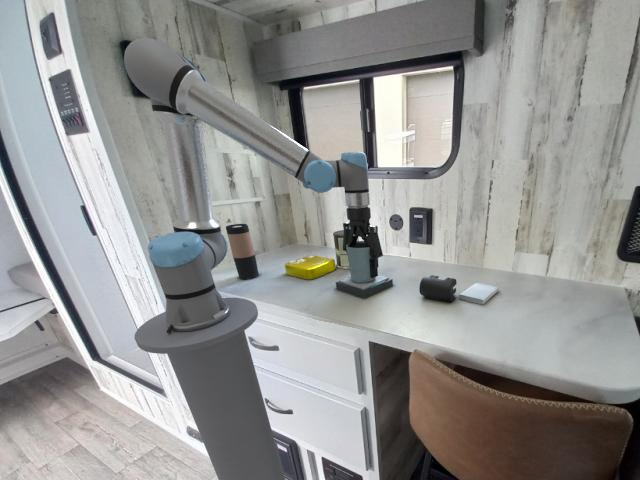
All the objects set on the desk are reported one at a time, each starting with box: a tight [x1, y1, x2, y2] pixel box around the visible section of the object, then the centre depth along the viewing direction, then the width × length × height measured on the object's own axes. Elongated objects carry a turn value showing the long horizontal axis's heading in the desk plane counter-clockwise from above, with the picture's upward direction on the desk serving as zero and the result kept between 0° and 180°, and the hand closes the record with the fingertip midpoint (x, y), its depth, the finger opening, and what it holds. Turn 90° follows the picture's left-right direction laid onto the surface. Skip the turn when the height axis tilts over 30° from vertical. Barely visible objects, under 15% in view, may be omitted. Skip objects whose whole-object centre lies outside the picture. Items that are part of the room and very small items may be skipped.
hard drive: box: [458, 282, 499, 305], centre depth 98 cm, size 2×8×12 cm
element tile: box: [284, 254, 336, 281], centre depth 124 cm, size 15×15×5 cm
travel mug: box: [225, 223, 260, 281], centre depth 117 cm, size 8×8×20 cm
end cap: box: [418, 274, 458, 303], centre depth 96 cm, size 10×7×7 cm
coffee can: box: [332, 229, 360, 270], centre depth 129 cm, size 10×10×14 cm
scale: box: [335, 274, 394, 300], centre depth 107 cm, size 14×14×3 cm
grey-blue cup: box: [346, 240, 376, 283], centre depth 104 cm, size 10×10×12 cm
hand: (363, 273), depth 106 cm, fingers closed on grey-blue cup, 9 cm apart
